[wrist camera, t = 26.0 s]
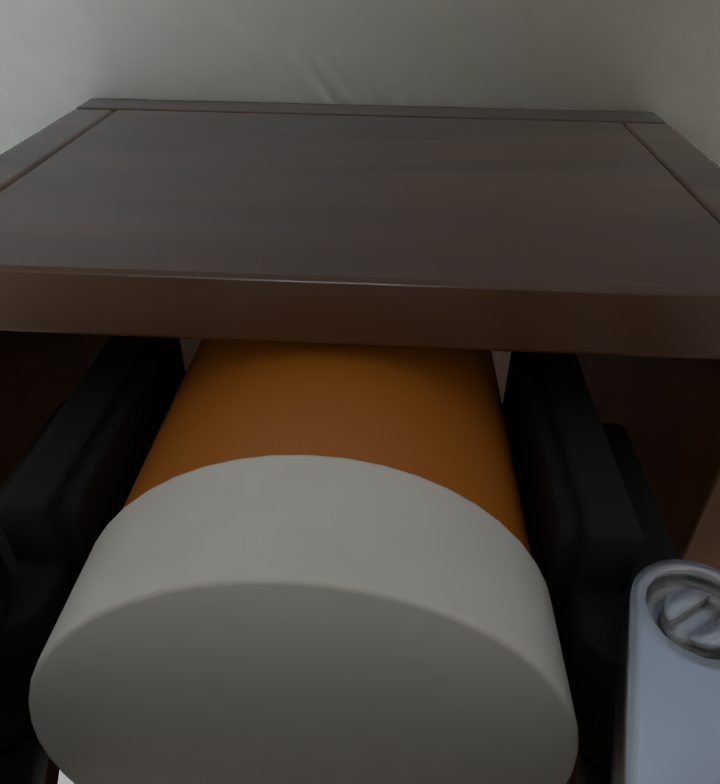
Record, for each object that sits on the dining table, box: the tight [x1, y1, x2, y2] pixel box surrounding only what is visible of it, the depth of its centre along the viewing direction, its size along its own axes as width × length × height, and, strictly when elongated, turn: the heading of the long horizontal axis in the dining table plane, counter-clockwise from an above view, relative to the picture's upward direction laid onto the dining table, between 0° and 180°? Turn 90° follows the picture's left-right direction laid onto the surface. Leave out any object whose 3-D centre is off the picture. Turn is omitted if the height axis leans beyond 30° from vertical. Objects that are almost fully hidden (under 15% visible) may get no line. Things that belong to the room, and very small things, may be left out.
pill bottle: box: [29, 339, 578, 784], centre depth 10 cm, size 5×5×8 cm
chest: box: [0, 99, 720, 784], centre depth 13 cm, size 13×11×7 cm
